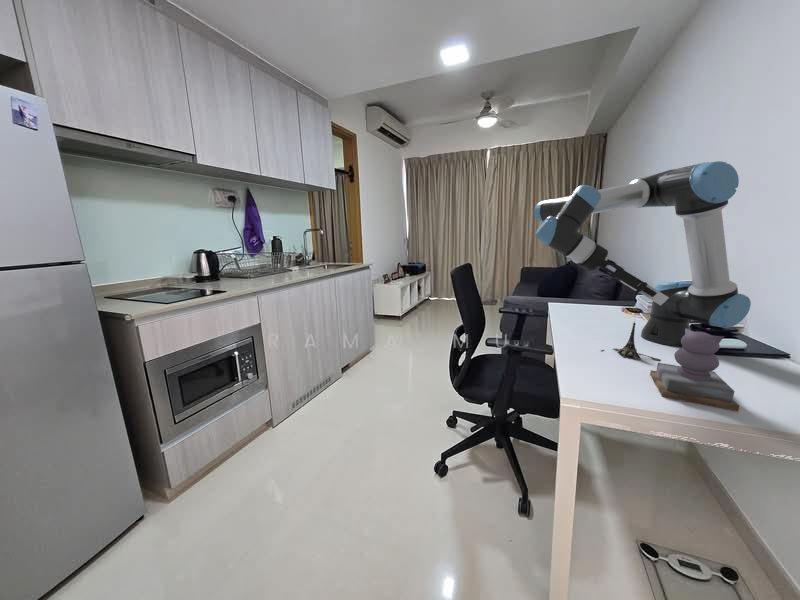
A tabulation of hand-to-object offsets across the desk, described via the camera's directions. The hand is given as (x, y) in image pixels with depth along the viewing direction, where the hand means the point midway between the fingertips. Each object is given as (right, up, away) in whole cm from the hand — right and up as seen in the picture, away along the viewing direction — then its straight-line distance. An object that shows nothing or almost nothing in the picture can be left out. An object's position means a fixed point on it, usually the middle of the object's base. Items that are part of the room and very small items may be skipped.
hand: (652, 295), depth 87 cm
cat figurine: (+5, -22, -7) cm, 23 cm away
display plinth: (+5, -26, -6) cm, 27 cm away
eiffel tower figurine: (+7, -21, +18) cm, 29 cm away
